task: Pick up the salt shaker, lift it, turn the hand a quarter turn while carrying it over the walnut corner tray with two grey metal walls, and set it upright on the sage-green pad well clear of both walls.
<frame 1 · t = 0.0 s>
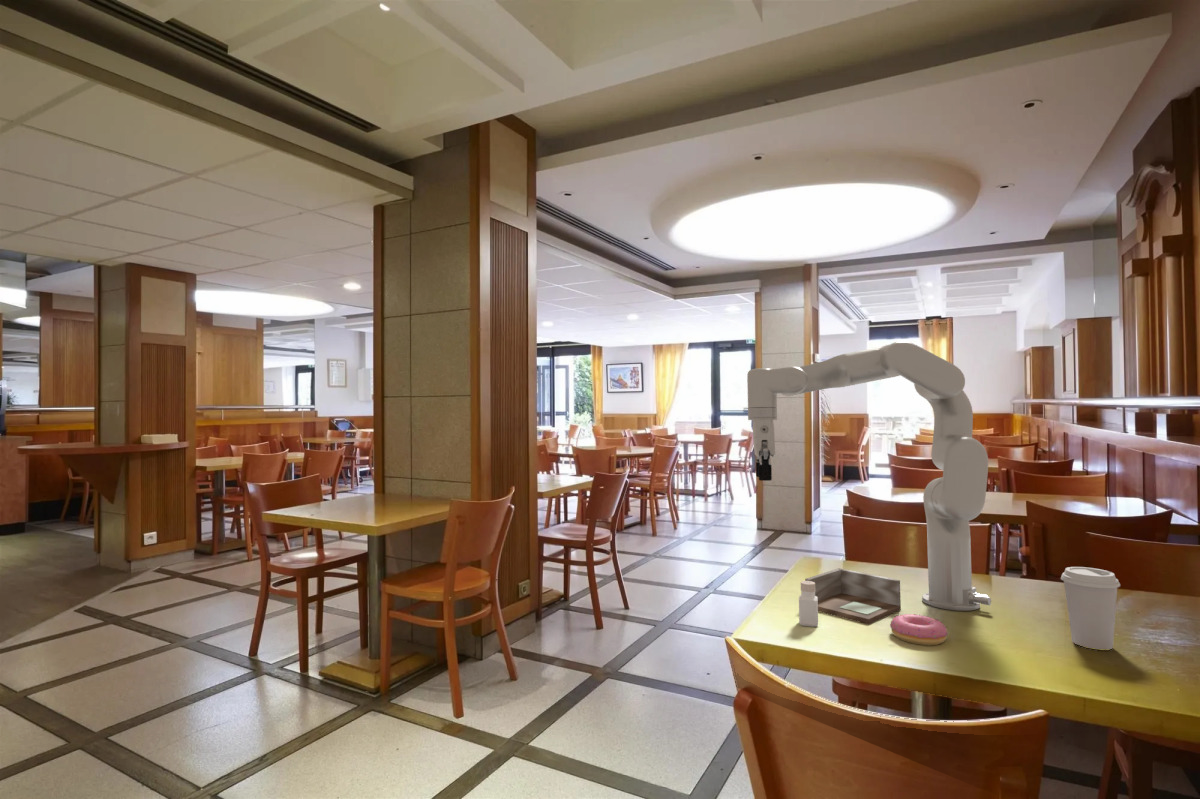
hand: (763, 478, 162), 31 cm above the table, tool pointing down, fingers open, 9 cm apart
coffee cup: (1092, 646, 125), on the table
doughnut: (918, 639, 130), on the table
salt shaker: (808, 625, 139), on the table
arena: (852, 608, 150), on the table
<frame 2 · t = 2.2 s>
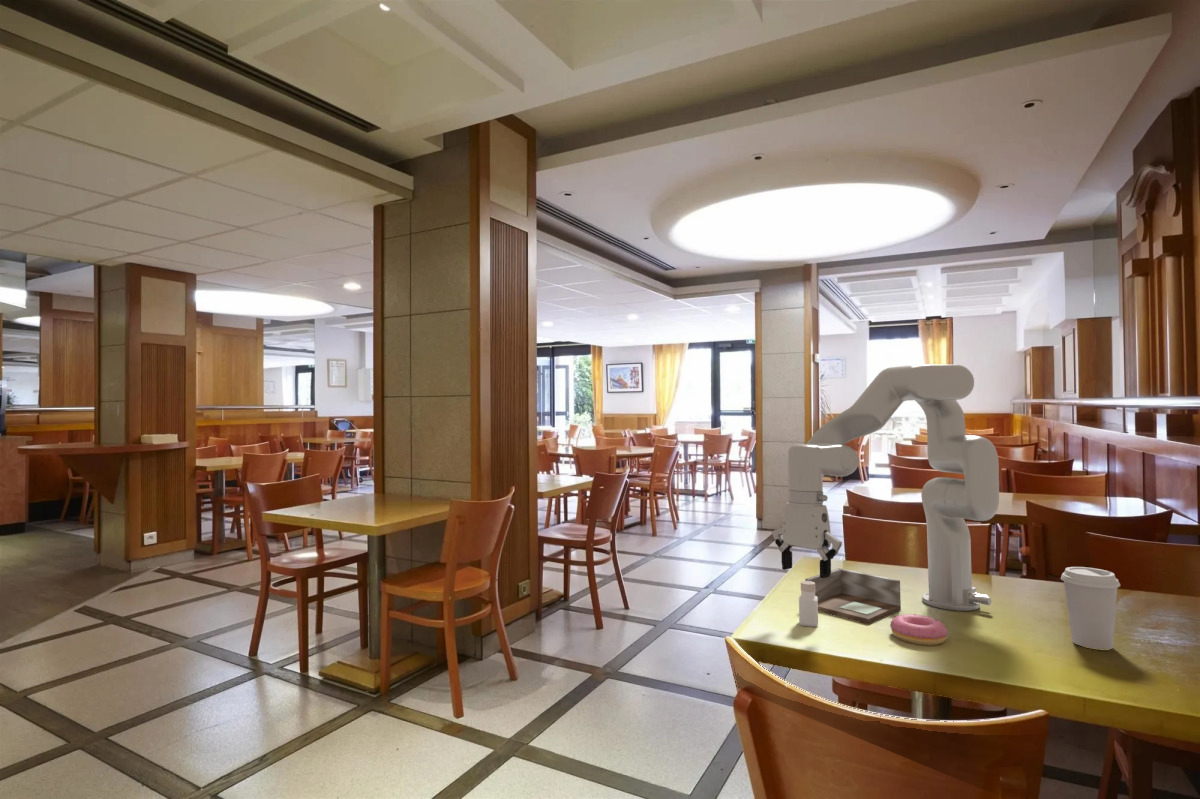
hand: (805, 572, 139), 12 cm above the table, tool pointing down, fingers open, 9 cm apart
nothing on the table moved.
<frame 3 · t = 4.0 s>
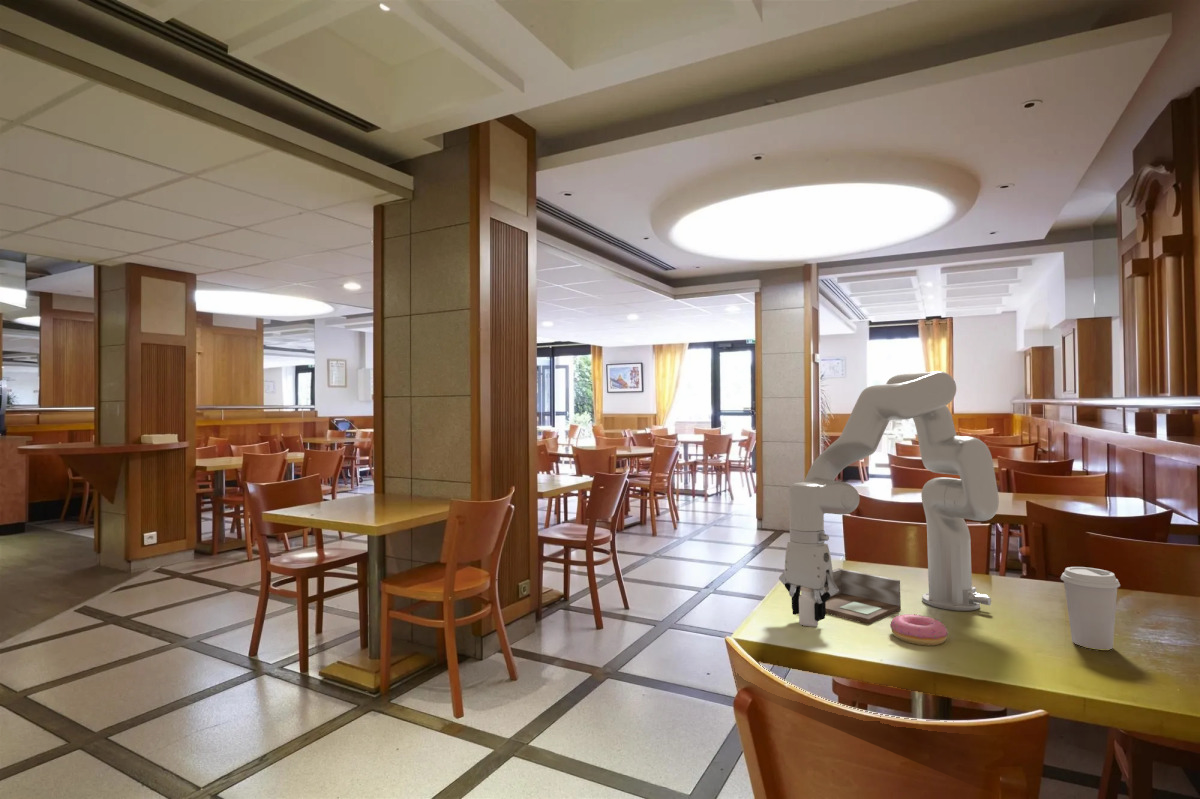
hand: (808, 615, 139), 2 cm above the table, tool pointing down, fingers closed on salt shaker, 5 cm apart
salt shaker: (808, 625, 139), on the table, touching gripper
everything else where it was.
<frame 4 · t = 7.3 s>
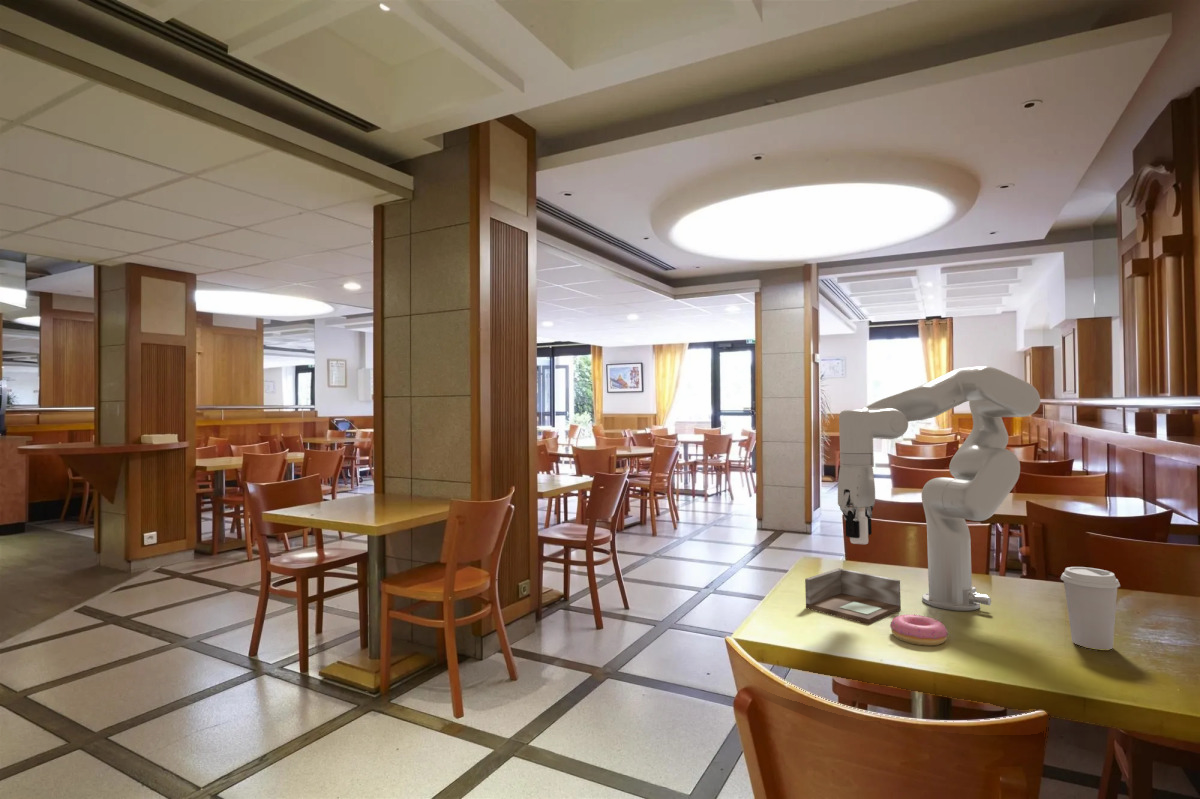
hand: (858, 534, 147), 19 cm above the table, tool pointing down, fingers closed on salt shaker, 5 cm apart
salt shaker: (859, 543, 147), point 17 cm above the table, touching gripper
everything else where it was.
when the fingers open (5 cm above the table, at t = 10.6 s): salt shaker drops 1 cm, resting on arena.
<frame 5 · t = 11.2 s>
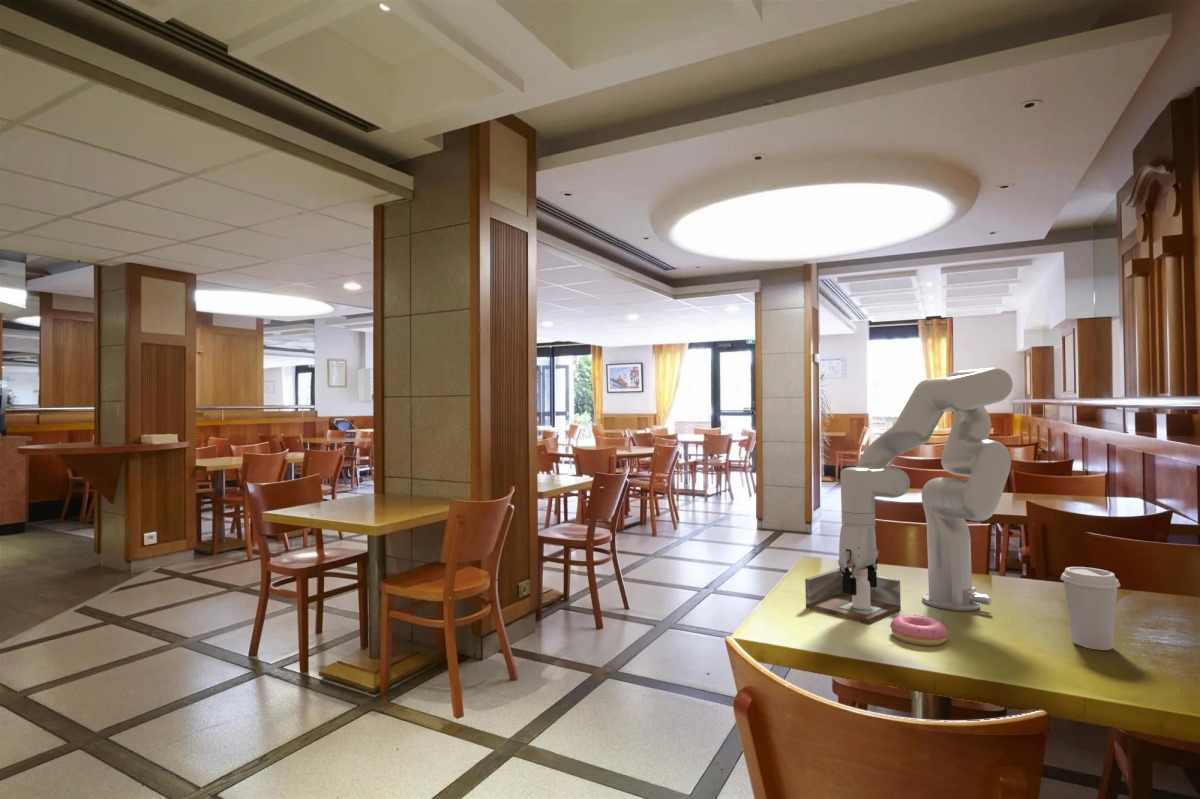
hand: (860, 590, 146), 6 cm above the table, tool pointing down, fingers open, 9 cm apart
salt shaker: (861, 608, 146), point 1 cm above the table, touching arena
everything else where it was.
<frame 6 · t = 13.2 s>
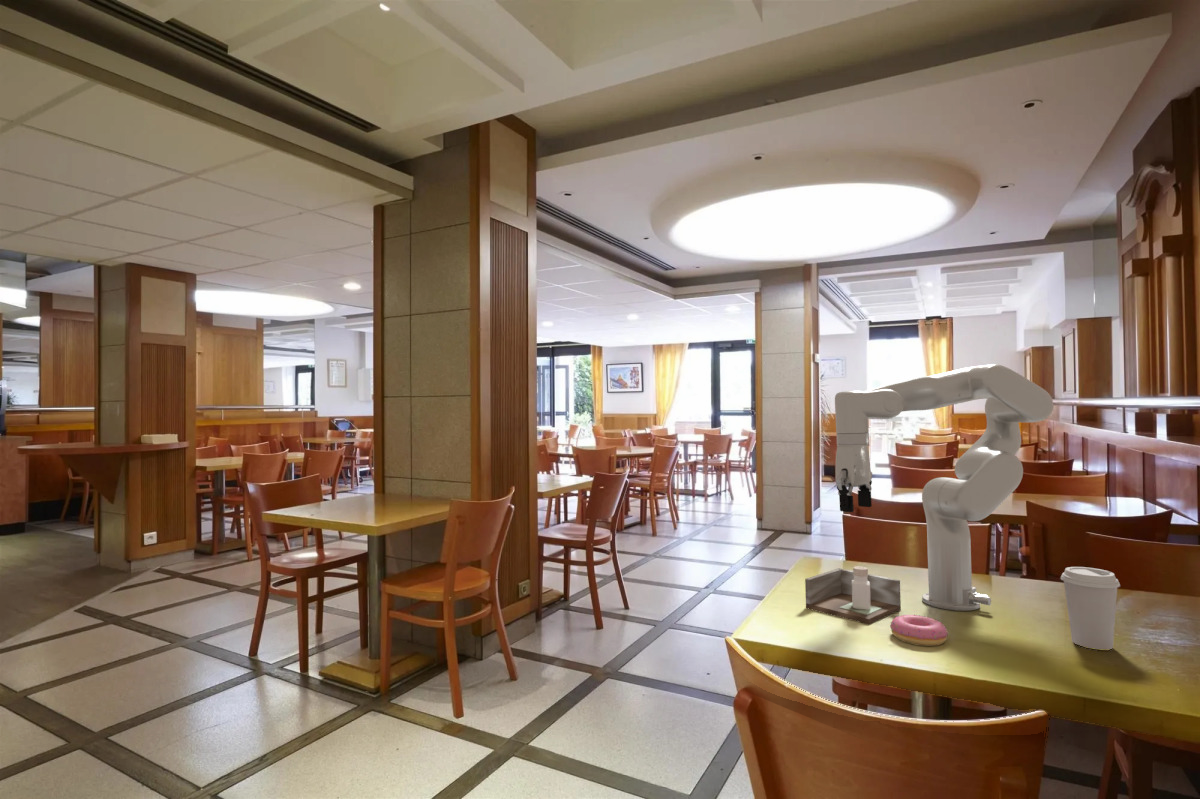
hand: (856, 509, 151), 24 cm above the table, tool pointing down, fingers open, 9 cm apart
nothing on the table moved.
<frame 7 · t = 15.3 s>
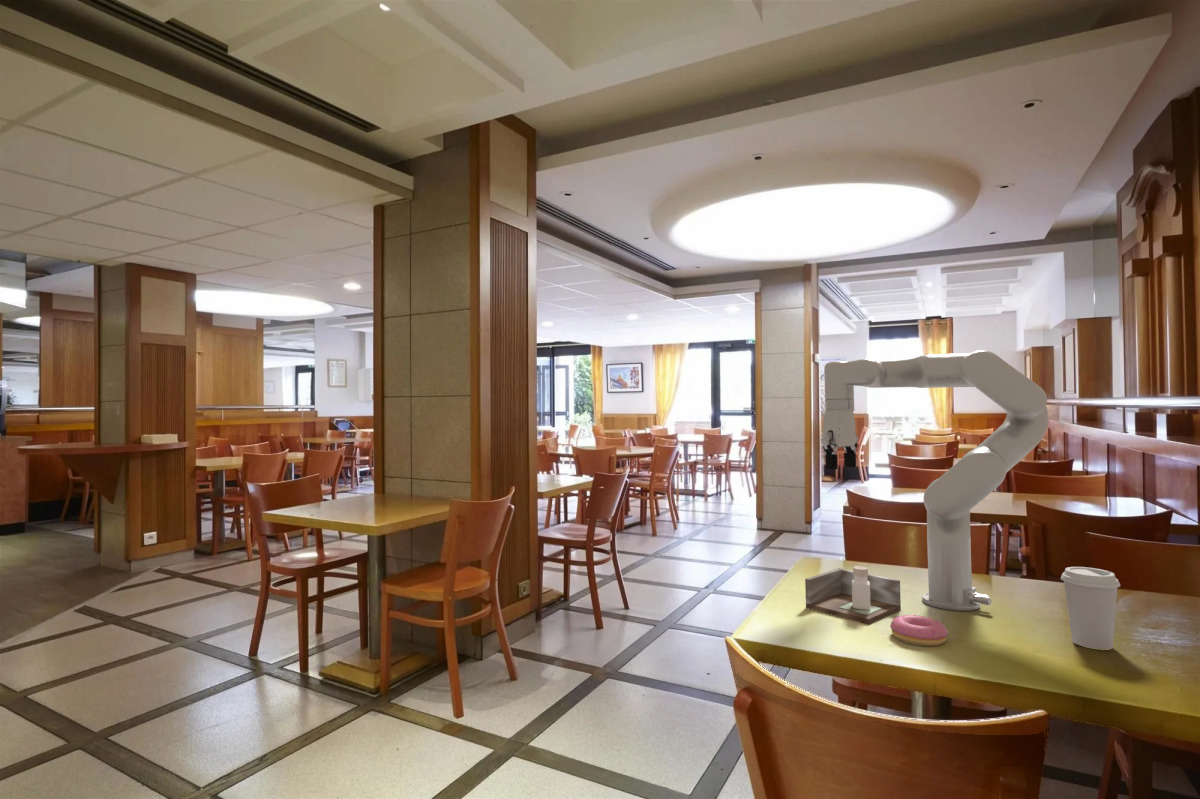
hand: (841, 468, 167), 33 cm above the table, tool pointing down, fingers open, 9 cm apart
nothing on the table moved.
at the end: salt shaker 0.2 cm from the target spot on the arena, point 1.2 cm above the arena's base; salt shaker tilted 0°; the gripper is holding nothing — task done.
